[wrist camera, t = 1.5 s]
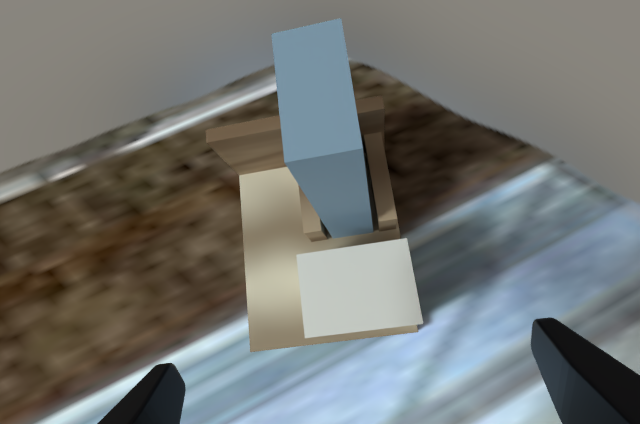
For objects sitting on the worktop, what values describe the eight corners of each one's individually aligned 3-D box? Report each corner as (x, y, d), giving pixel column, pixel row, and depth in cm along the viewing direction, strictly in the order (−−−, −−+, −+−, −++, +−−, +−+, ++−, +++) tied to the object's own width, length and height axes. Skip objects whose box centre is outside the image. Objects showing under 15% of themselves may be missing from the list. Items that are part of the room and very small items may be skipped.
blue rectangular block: (373, 232, 23) (362, 148, 12) (333, 238, 23) (284, 162, 12) (361, 157, 25) (341, 18, 13) (323, 164, 25) (271, 34, 13)
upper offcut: (419, 323, 19) (423, 323, 17) (313, 336, 20) (304, 338, 18) (404, 246, 20) (407, 238, 18) (304, 260, 21) (296, 254, 19)
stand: (416, 331, 22) (428, 335, 16) (255, 350, 23) (214, 360, 18) (382, 144, 26) (381, 95, 20) (243, 169, 27) (205, 129, 21)
